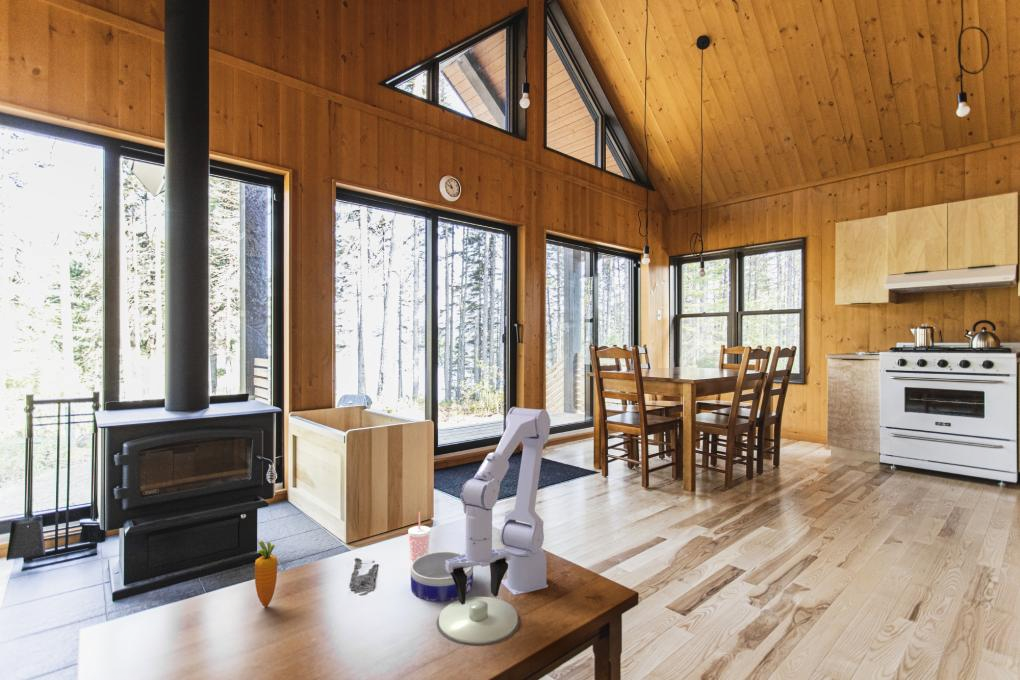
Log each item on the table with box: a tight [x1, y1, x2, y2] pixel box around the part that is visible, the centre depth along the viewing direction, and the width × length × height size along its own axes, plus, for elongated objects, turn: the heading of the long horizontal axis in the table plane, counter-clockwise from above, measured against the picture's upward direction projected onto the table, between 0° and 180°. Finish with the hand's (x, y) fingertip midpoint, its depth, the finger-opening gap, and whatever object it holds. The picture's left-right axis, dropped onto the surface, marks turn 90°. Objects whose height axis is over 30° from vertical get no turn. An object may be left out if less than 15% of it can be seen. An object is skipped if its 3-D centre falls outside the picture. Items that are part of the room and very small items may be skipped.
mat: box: [436, 613, 521, 647], centre depth 109 cm, size 18×18×1 cm
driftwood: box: [348, 557, 379, 596], centre depth 129 cm, size 21×7×2 cm, turn 10°
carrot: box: [254, 540, 278, 608], centre depth 115 cm, size 5×5×15 cm
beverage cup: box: [407, 511, 432, 565], centre depth 138 cm, size 6×6×14 cm
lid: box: [438, 596, 518, 644], centre depth 109 cm, size 17×17×3 cm
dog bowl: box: [410, 550, 474, 603], centre depth 124 cm, size 15×15×6 cm
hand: (478, 598), depth 109 cm, fingers open, 7 cm apart
